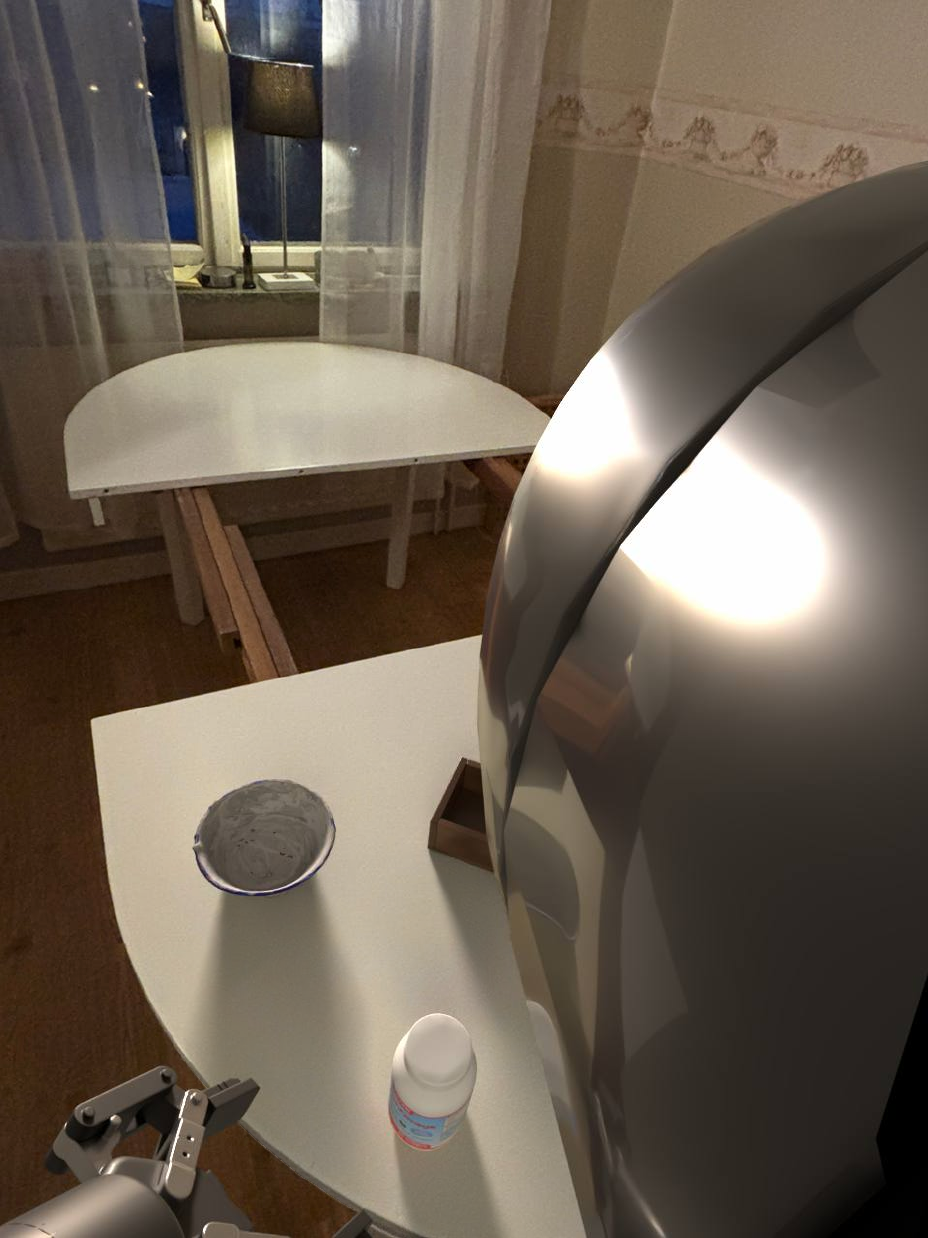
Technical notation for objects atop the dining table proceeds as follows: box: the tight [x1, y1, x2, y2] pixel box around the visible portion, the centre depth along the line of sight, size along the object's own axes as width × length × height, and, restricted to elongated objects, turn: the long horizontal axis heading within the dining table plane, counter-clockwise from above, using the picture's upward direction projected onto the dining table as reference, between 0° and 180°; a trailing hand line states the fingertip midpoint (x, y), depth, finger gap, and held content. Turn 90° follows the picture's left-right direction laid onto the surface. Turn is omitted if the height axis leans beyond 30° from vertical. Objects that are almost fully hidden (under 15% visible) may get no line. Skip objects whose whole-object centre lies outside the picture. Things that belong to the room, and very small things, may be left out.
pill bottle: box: [387, 1013, 478, 1152], centre depth 54 cm, size 6×6×11 cm
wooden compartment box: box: [427, 756, 495, 875], centre depth 76 cm, size 17×9×5 cm, turn 70°
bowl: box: [191, 778, 337, 899], centre depth 71 cm, size 13×13×5 cm
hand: (300, 1160), depth 38 cm, fingers open, 8 cm apart
